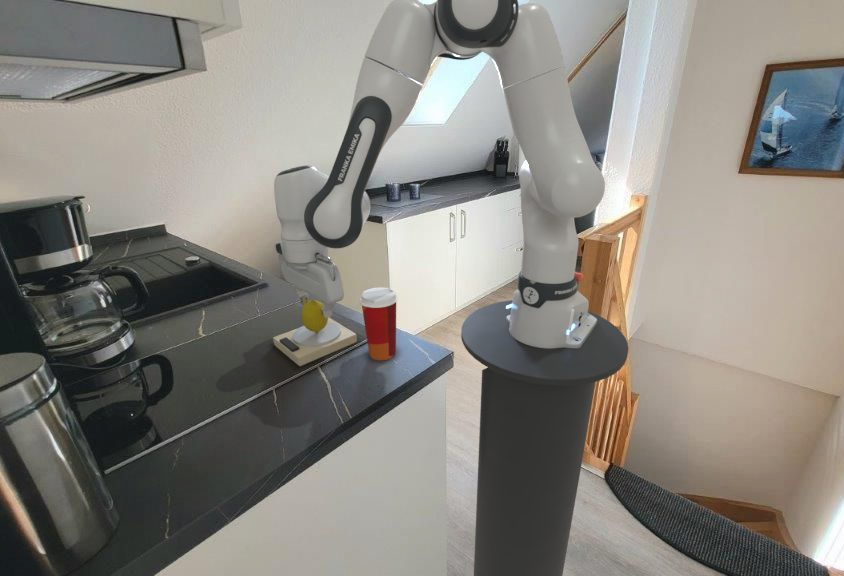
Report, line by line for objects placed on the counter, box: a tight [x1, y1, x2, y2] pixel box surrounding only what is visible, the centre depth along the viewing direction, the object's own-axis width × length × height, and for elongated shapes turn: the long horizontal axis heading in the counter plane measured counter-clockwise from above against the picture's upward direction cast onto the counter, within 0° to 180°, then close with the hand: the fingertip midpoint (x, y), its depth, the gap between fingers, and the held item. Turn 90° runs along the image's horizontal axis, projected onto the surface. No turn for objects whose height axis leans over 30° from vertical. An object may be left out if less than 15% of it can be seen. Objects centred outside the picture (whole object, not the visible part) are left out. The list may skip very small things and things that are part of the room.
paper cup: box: [359, 286, 399, 361], centre depth 84 cm, size 8×8×14 cm
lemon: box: [301, 299, 328, 333], centre depth 89 cm, size 6×6×8 cm
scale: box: [272, 317, 358, 367], centre depth 90 cm, size 14×12×3 cm
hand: (315, 309), depth 88 cm, fingers open, 8 cm apart
